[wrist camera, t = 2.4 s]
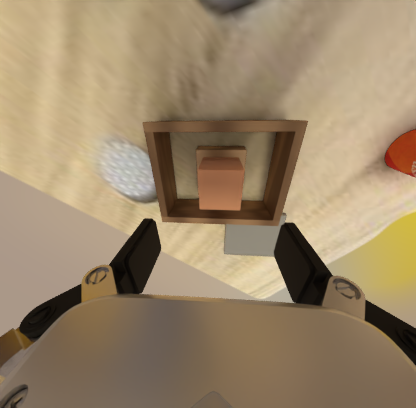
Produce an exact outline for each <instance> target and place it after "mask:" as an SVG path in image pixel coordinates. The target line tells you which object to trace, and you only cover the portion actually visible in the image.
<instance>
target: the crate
mask: <svg viewBox="0 0 416 408" xmlns="http://www.w3.org/2000/svg"><path fill="white" fill-rule="evenodd" d="M307 123H308V121H300V120H225V121H155V122H143V127H144V132H145V137H146V142H147V147H148V152H149V157H150V162H151V167H152V172H153V177H154V182H155V187H156V192H157V197H158V202H159V207H160V212H161V217H162V222H177V223H204V224H232V225H259V226H279V222H280V219H281V215H282V212H283V208H284V205H285V201H286V198H287V194H288V190H289V187H290V183H291V180H292V176H293V173H294V169H295V166H296V162H297V159H298V155H299V152H300V148H301V145H302V141H303V138H304V134H305V131H306V127H307ZM169 132H277V134H276V139H275V144H274V149H273V154H272V159H271V164H270V169H269V174H268V179H267V184H266V189H265V194H264V199H263V201H241V207H240V210H207V209H200V207H199V199H177V193H176V185H175V177H174V169H173V161H172V153H171V145H170V137H169ZM246 153H247V150H246V148H245V147H244V146H199V147H198V148H197V149H196V159H197V181H198V169H199V166H200V164H201V162H202V159H203V157H239V159H240V161H241V163H242V166H243V168H244V170H245V162H246ZM198 195H199V185H198Z"/></svg>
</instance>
